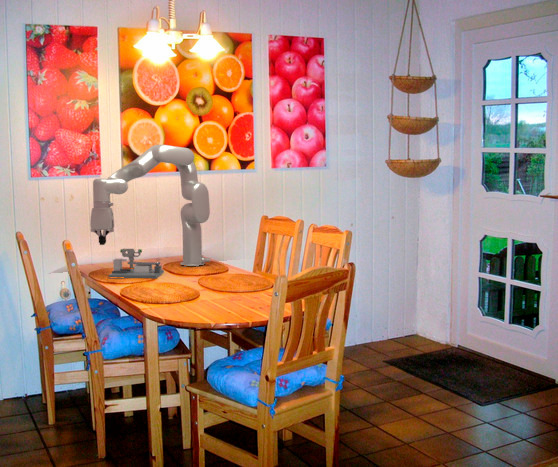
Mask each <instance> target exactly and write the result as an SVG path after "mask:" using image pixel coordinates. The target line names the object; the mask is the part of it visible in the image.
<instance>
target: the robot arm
mask: <svg viewBox="0 0 558 467" xmlns="http://www.w3.org/2000/svg"><path fill="white" fill-rule="evenodd" d="M194 160H195V153H194V152H193V151H192V150H191V149H190V148H187V147H181V146H174V145H168V144H155V145H152V146H150V147H149V148H148V149H146V150H145V151H144V152H143V153H142V154H141V155H139V156H138V157H137V158H135V159H134V160H132V161H131V162H129V163H127V164H126V165H124V166H123V167H121V168H119V169H118V170H116V171H114V172H113V173H112V174H111V175H110V176H108V178H95V179H93V181H92V195H93V196H92V197H93V203H92V204H93V205H92V206H93V208H91V211H90V212H91V213H90V232H91V233H94V234H96V235H97V236H98V243H99V246H105V245H106V243H107V235H108V234H110V233H113V232H114V231H115V219H114V212H113V211H114V210H113V206H114V203H113V202H111V194H114V195H122V194H124V193H126V192H127V191H128V189H129V184H128V183H129V182H130V181H132V180H134V179H138V178H139V179H140V178H141V177H144V176H146V175H147V174H148V173H150V172H151V171H152V170H153V169H155V167H157V166H158V165H160V164H161V163H166V164H172V165H174V166H175V167H176V169H177V170H178V172H179V177H180V187H181V188H180V189H181V196H182V198H184V199H185V200H187V201H191V202H188V203H185V204H183V205H182V207H181V209H180V220H181V227H182V229H181V230H182V261H180V263H179V265H180V264H181V265H186V266H196V267H200V266H199V265H203V266H205V265H206V262H207V263H211V257H204V255H202V254H203V252H202V251H203V250H202V243H203V242H202V225H201V224H204V223H206V222H208V220H209V218H210V213H211V208H210V207H211V206H210V195H209V194H210V192H209V190H208V188H207V186H206V184H204V183H203V182H201V181H200V182H199V178H198V171H197V167H196V165H195V163H194ZM204 264H205V265H204ZM181 265H180V266H181ZM186 266H185V267H186Z"/></svg>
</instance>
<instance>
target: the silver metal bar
mask: <svg viewBox="0 0 558 467" xmlns="http://www.w3.org/2000/svg"><path fill="white" fill-rule="evenodd" d="M130 264H133V265H136V264H140V265H152V266H158V265H161V262H160V261H155V262H151V261H133V262H130V261H128V262H127V265H130Z"/></svg>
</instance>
